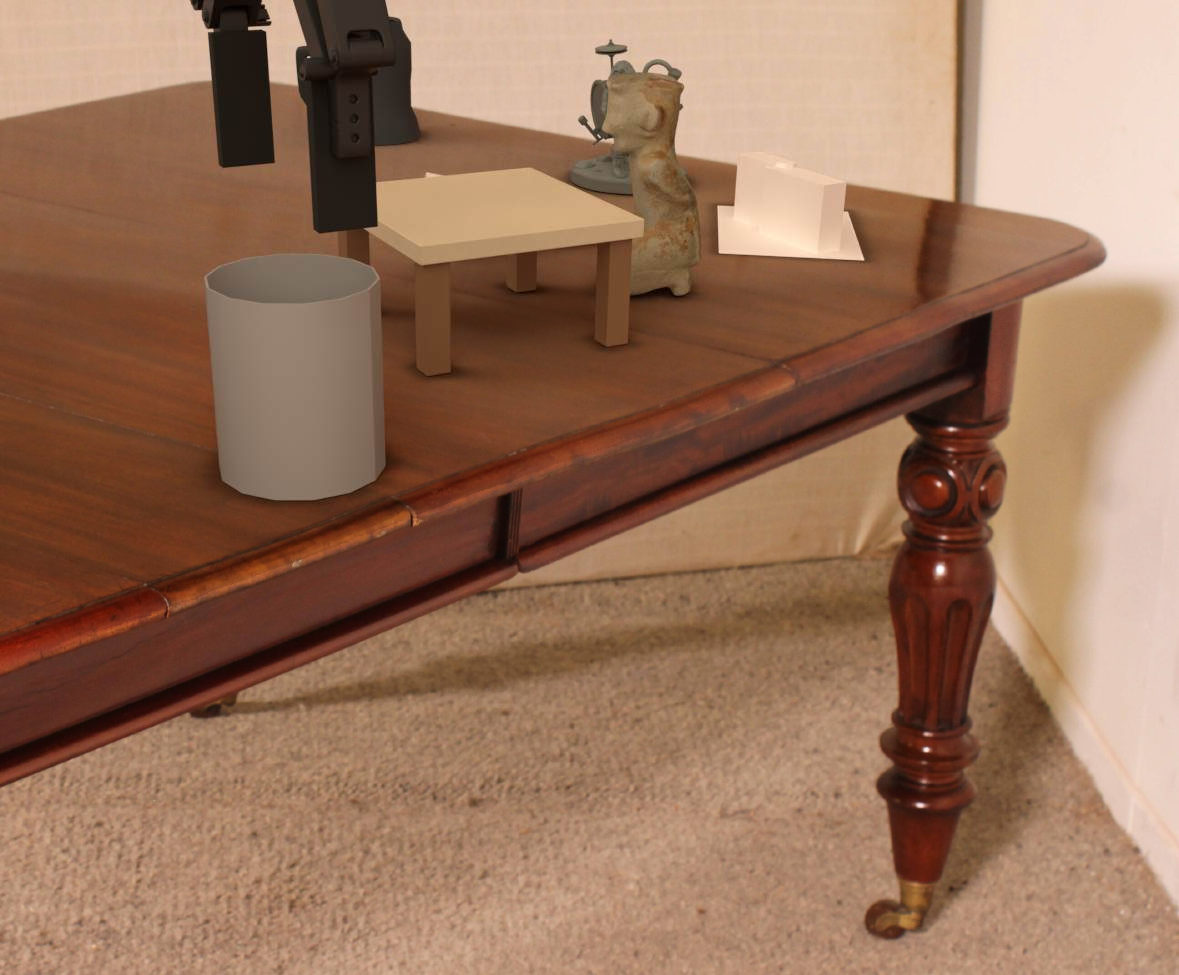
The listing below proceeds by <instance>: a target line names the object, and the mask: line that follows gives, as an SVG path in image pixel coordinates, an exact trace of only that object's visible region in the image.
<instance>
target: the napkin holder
mask: <svg viewBox="0 0 1179 975" xmlns="http://www.w3.org/2000/svg"><path fill="white" fill-rule="evenodd" d="M736 165H737V166H736V176H735V178H736V179H735V191H734V192H735V193H734V205H717V229H718V230H717V233H718V234H717V237H718V238H717V239H718V241H717V242H718V254H721V255H723V254H725V255H742V256H743V255H744V256H745V255H746V256H761V257H762V256H764V257H783V258H786V257H787V258H805V259H806V258H807V259H823V260H847V261H865V257H864V255H863V251H862V249H861V246H860V243H859V240H858V237H857V235H856V231H855V228H854V226H853V223H852V220H851V217H850V213H849V212H848V211H844V210H845V201H846V191H847V181H845V180H841V179H838V178H835V177H831V176H829V175H825V174H823V173H818V172H815V171H811V170H808V169H804V168H801V167H798V162H797V161H794V160H790V159H787V158H784V157H781V156H778V155H773V154H771V153H767V152H764V151H761V150H760V151H759V150H758V151H751V152H745V153H744V152H743V153H738V154H737V164H736Z"/></svg>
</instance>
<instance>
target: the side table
mask: <svg viewBox="0 0 1179 975" xmlns="http://www.w3.org/2000/svg"><path fill="white" fill-rule="evenodd" d="M376 190H377V216H378V227H371V228H363V229H355V230H346V231H338V232H337V248H338V257H343V258H350V259H354V260H356V261H359V262H361V263H364V264H366V265H369V266H371V256H370V254H371V253H370V252H371V251H370V250H371V249H370V234H371V235H372V236H374V237H376V238H377V239H379V240H380V241H382V243H383V242H384V243H385V244H387V245H388V246H389V247H391V248H393V249H394V250H396V251H398V252H399V253H400V254H402V255H404V256H405V257H407V258H408V259H410V260H411V261H413V262H414V304H415V346H416V347H415V353H416V354H415V356H416V357H415V358H416V359H415V362H416V369H417V370H418V371H419V372H420V373H421V374H423V375H425V377H431V376H433V377H434V376H438V375H443V374H450V373H451V372H452V355H451V353H452V352H451V351H452V350H451V344H452V343H451V263H453V262H461V261H469V260H476V259H484V258H485V259H486V258H491V257H492V258H494V257H500V256H501V257H502V256H506V287H507V288H508V289H510V290H512V291H514V292H515V293H523V292H529V291H530V292H531V291H536V290H537V277H538V276H537V275H538V274H537V272H538V268H537V267H538V252H540V251H548V250H549V251H550V250H555V249H564V248H572V247H580V246H586V245H595V244H596V245H597V246H596V247H597V249H596V264H597V268H596V273H595V274H596V276H595V277H596V278H595V303H594V304H595V306H594V331H593V332H594V333H593V340H594V341H596V342H597V343H599V344H601V345H602V346H604V347H606V348H609V347H615V346H622V345H628V343H629V323H630V322H629V321H630V305H631V304H630V303H631V302H630V299H631V295H630V281H631V258H632V239H635V238H642V237H643V234H644V219H643V218H641V217H638V216H636V215H635V213H632V212H630V211H627V210H625V209H623V208H621V207H618V206H617V205H614V204H612V203H610V202H607V201H605V200H603V199H601V198H599V197H597V196H594V195H592V194H591V193H588V192H585V191H583V190H581V189H579V188H577V187H574V186H573V185H570V184H568V183H566V182H564V181H562V180H559V179H557V178H555V177H552V176H551V175H548V174H546V173H544V172H542V171H540V170H537V169H536V168H533V167H521V168H512V169H511V168H510V169H501V170H500V169H499V170H489V171H479V172H467V173H459V174H458V173H457V174H447V175H443V176H437V177H426V178H425V177H418V178H409V179H408V178H406V179H399V180H398V179H397V180H386V181H376Z"/></svg>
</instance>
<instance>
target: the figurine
mask: <svg viewBox="0 0 1179 975" xmlns="http://www.w3.org/2000/svg"><path fill="white" fill-rule="evenodd" d="M608 40H609V42H607V44H604V45H599V46H596V47H595V48H594V53H595V54H596V55H600V56H608V57H609V58H610V59H609V60H610V74H609V76H608V78H609V77H610V76H612V75H615V74H619V73H634V72H637V71H636V69H635V68H634V67H633V64H631V62H630V61H628V60H625V59H622V60H618V61H617V62H615V63H614V58H615V56H616V55H621V54H625V53H627V52H628V46H627V45H625V44H615V43H614V42H613V39H612V38H610V39H609V38H608ZM656 65H659V66H662V67H664V68H665V69H666V71H668V72H667V74H666V75H667V76H671V77H673V78H675V79H676V80H677V81H679V79H680V78H681V77H682V75H683V72H682V71H681V70H680V69H679V68H677V67H672V65H671V64H670V63H669V62H668V61H666V60H663V59H661V58H655V59H652V60H650V61H648V62H647V63H646V64H645V65H644V66H643V69H642V72H646V73H649V70H650V69H651V68H652V67H654V66H656ZM608 78H607V79H603V80H602V79H595V80H594V81H593V82H592V84H591V88H590V95H589V96H590V97H589V99H590V112H591V118H592V122H593V126H594V128H592V127H591V126H590V125H589V123H588V122H589V120H588V118H586V116H585V115H581V116H579V117H578V118H577V121H578V123H579V124H580V125H581V126H584V127H585V128H586V129H587V130H588V132H589V133H590V134H591V135H592V136H593V138H594V139H595V141H594V142H592V145H593V146H595V145H596V144H598V143H599V142H600V141H602V140H605V141H607V140H609V139H613V136H612V135H610V134H608V133H605V132H603V130H602V126H603V123H604V120H605V117H606V114H607V106H608V95H609V90H608V87H607V80H608ZM683 109H684V105H683V103H680V111H682V110H683ZM609 149H610V152H611V155H609V154H603V155H601V156H599V157H591V158H585V159H580V160H578V161H576V162H574V163H572V164H571V165H570V167H569V180H570V182H571V183H572V184H574V185H576V186H578V187H580V188H583V189H587V190H589V191H590V190H591V191H593V192H601V193H607V194H619V195H633V191H632V183H631V176H630V165H629V154H628V153H620V152H617V151H616V150H615V147H614V143H612V144H611V145H610V148H609ZM679 167H680V169H681V171H682V172H683V174H684V175H685V177H686V179H687V180H688V170H687V169H686V168H685V167H684V166H682V165H680V164H679Z"/></svg>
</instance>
